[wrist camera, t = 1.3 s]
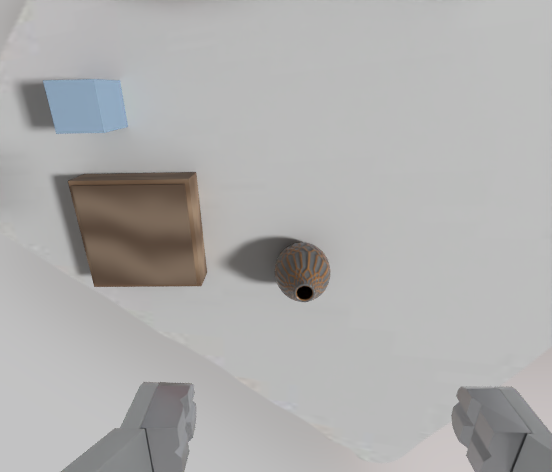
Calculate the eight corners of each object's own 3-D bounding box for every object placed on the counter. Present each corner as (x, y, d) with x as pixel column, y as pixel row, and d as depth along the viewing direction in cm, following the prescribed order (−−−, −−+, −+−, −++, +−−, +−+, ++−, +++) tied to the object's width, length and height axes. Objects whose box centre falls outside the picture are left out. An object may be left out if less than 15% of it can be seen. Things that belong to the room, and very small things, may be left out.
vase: (266, 248, 47) (263, 281, 39) (313, 226, 46) (320, 256, 38) (289, 288, 50) (290, 327, 42) (334, 269, 48) (344, 305, 40)
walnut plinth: (84, 174, 44) (65, 181, 40) (196, 172, 43) (187, 180, 40) (107, 273, 49) (92, 288, 46) (206, 272, 49) (200, 287, 45)
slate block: (76, 81, 40) (42, 80, 34) (120, 80, 40) (93, 79, 34) (86, 127, 42) (56, 133, 36) (128, 126, 42) (104, 132, 36)
